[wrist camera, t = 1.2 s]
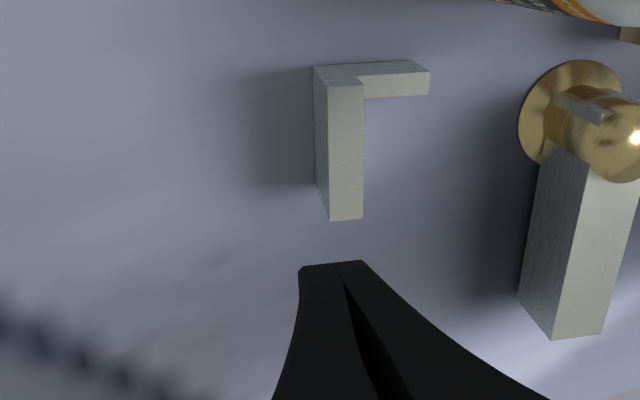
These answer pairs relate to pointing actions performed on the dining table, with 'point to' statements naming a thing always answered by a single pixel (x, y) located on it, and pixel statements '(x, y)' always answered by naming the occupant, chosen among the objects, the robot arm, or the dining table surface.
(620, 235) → the bar
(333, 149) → the bracket
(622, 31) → the oak jamb corner
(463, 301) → the dining table surface
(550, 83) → the pivot plate
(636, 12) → the pill bottle
